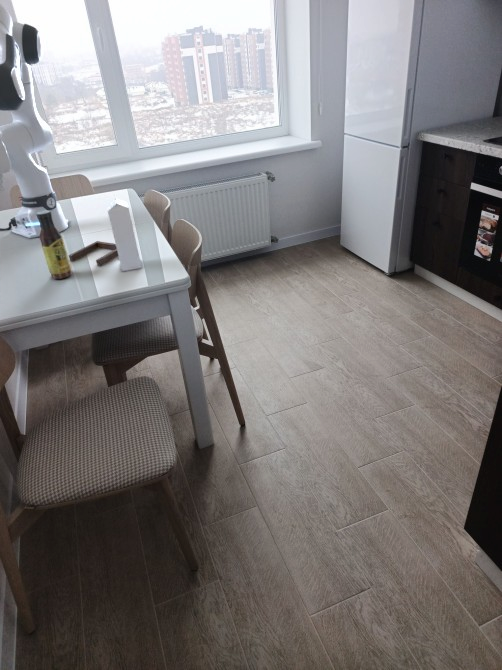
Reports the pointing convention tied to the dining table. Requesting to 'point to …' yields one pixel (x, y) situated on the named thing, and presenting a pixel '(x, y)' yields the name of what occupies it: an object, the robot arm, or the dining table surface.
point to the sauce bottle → (53, 247)
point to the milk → (124, 235)
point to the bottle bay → (93, 247)
